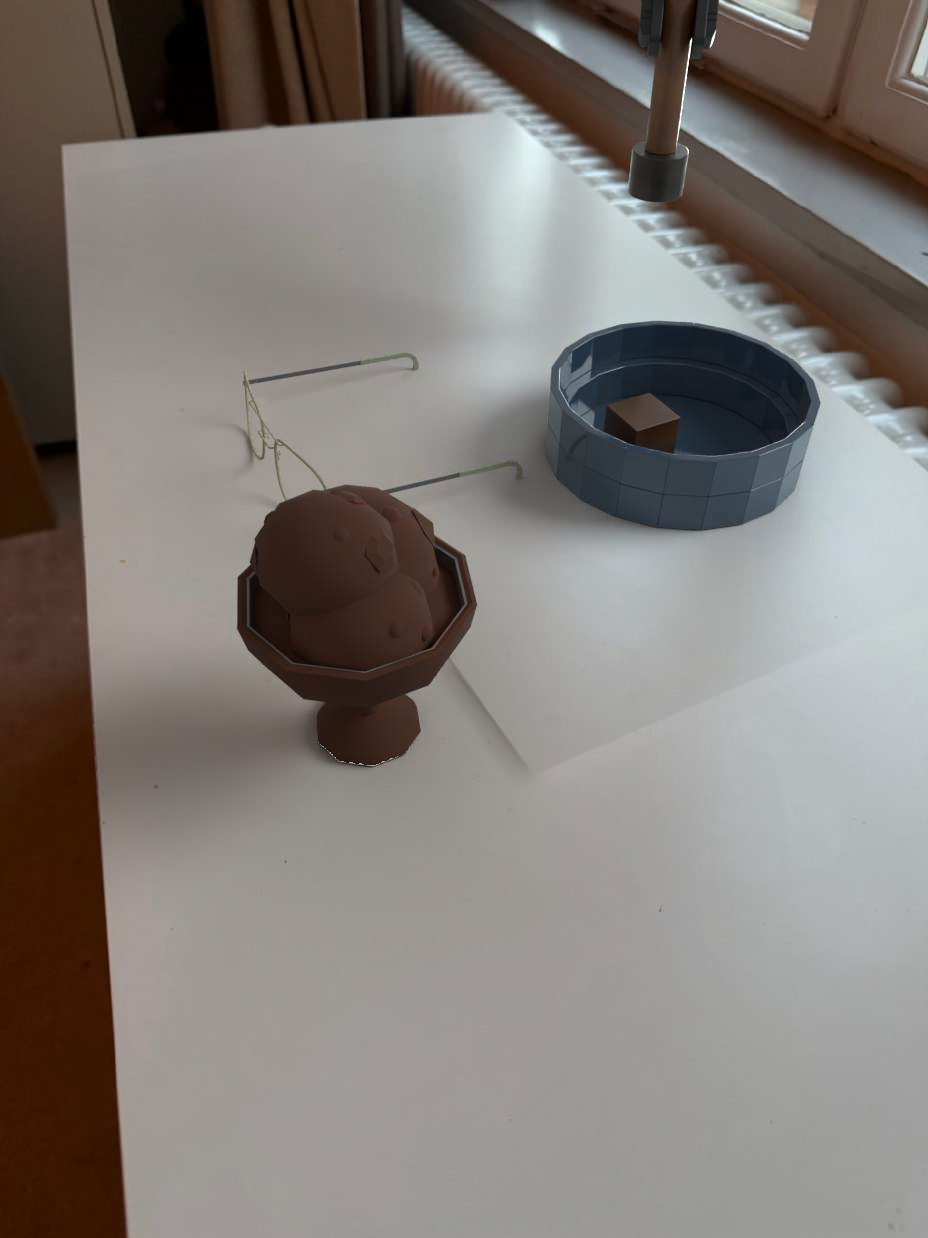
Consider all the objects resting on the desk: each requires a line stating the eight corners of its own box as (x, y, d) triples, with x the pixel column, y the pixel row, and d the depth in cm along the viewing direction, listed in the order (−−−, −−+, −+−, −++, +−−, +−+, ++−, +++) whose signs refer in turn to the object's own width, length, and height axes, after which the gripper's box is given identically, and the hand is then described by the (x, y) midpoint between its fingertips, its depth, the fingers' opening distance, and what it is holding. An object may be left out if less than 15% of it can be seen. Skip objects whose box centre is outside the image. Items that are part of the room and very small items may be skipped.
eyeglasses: (231, 425, 72) (220, 363, 68) (418, 376, 77) (416, 315, 73) (315, 553, 62) (306, 487, 58) (523, 486, 67) (526, 422, 63)
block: (642, 435, 70) (649, 391, 67) (672, 461, 68) (680, 417, 65) (600, 448, 69) (606, 404, 66) (630, 475, 66) (636, 430, 64)
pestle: (670, 179, 75) (701, -40, 65) (690, 200, 72) (725, -26, 63) (620, 184, 74) (643, -37, 65) (638, 204, 72) (665, -23, 62)
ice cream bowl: (457, 824, 47) (458, 591, 37) (231, 792, 49) (171, 559, 38) (488, 664, 55) (496, 433, 45) (292, 640, 56) (256, 410, 46)
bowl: (733, 382, 76) (749, 309, 72) (843, 519, 64) (869, 441, 60) (517, 408, 74) (520, 334, 69) (589, 556, 62) (598, 477, 57)
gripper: (595, -264, 62) (569, 11, 62) (823, -263, 61) (798, 18, 61) (591, -167, 70) (568, 78, 69) (794, -164, 68) (771, 86, 68)
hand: (675, 49), depth 65 cm, fingers closed on pestle, 2 cm apart
